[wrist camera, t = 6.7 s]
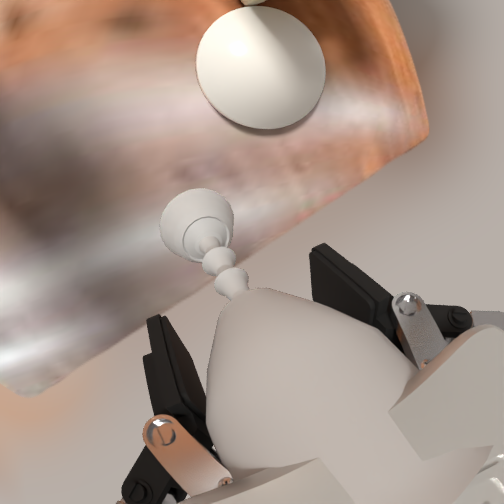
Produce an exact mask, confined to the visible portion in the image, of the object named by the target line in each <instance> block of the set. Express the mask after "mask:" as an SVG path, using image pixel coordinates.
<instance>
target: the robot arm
mask: <svg viewBox="0 0 504 504" xmlns="http://www.w3.org/2000/svg"><path fill="white" fill-rule="evenodd" d="M309 259H310V272H311V285H312V297H313V301H314V302H317V303H320V304H322V305H325V306H328V307H331V308H333V309H335V310H337V311H339V312H342V313H344V314H346V315H348V316H350V317H353V318H355V319H357V320H359V321H361V322H364V323H366V324H368V325H370V326H372V327H375V328H377V329H378V330H379V331H381V332H382V333H383V334H384V335H385V336H386V337H387V338H388V339H389V340H390V341H391V342H392V343H393V344H394V345H395V346H396V347H397V348H398V349H399V350H400V351H401V352H402V353H403V354H404V355H405V356H406V357H407V358H408V359H409V360H410V361H411V362H412V363H413V364H414V365H415V366H416V368H417V369H418V370H419V372H418V373H417V374H416V375H415V376H414V377H412V378H411V379H410V380H409V381H408V382H407V383H406V385H405V388H404V390H403V393H402V395H401V397H400V398H399V399H398V400H397V402H396V403H395V404H394V405H393V406H392V408H391V409H390V410H389V411H388V412H387V413H388V414H389V415H390V417H391V418H392V420H393V421H394V422H395V424H396V425H397V427H398V428H399V429H400V431H401V432H402V434H403V435H404V436H405V438H406V439H407V441H408V442H409V444H410V445H411V446H412V448H413V449H414V451H415V452H416V453H417V455H418V456H419V457H420V459H421V460H422V461H426V460H429V459H432V458H435V457H438V456H441V455H444V454H446V453H449V452H452V451H454V450H456V449H459V448H473V447H483V446H491V445H494V446H493V448H492V450H491V452H490V454H489V457H488V459H487V460H486V462H485V463H484V465H483V466H482V468H481V469H480V470H479V472H478V473H477V474H476V476H475V477H474V478H473V480H472V481H471V482H470V484H469V485H468V486H467V487H466V489H465V490H464V491H463V492H462V493H461V495H460V496H459V497H458V498H457V499H456V500H455V501H454V502H453V503H452V504H504V313H503V312H500V311H471V312H470V313H469V312H468V311H467V310H466V309H465V308H463V307H459V306H446V305H429V304H428V305H427V304H425V303H424V301H423V300H422V298H421V297H420V296H418V295H417V294H414V293H411V292H402V293H400V294H397V295H396V296H395V297H393V296H392V295H391V294H390V293H389V292H387V291H386V290H385V289H384V288H383V287H381V286H380V285H379V284H378V283H376V282H375V281H374V280H373V279H371V278H370V277H369V276H368V275H367V274H365V273H364V272H363V271H362V270H360V269H359V268H358V267H357V266H355V265H354V264H352V263H350V262H349V261H348V260H346V259H345V258H344V257H342V256H341V255H340V254H339V253H337V252H336V251H335V250H333V249H332V248H331V247H330V246H328V245H327V244H325V243H322V244H320V245H318V246H316V247H314V248H312V252H311V253H310V254H309ZM146 321H147V328H148V333H149V339H150V345H151V350H152V353H150V354H147V355H145V356H143V364H144V369H145V375H146V380H147V385H148V390H149V394H150V399H151V404H152V408H153V412H154V417H153V418H151V419H150V420H148V422H147V423H146V424H145V426H144V428H143V434H142V435H143V440H144V442H145V444H146V446H145V447H144V449H143V451H142V452H141V454H140V456H139V457H138V459H137V461H136V463H135V464H134V466H133V467H132V469H131V471H130V473H129V474H128V476H127V478H126V479H125V481H124V483H123V485H122V496H123V498H122V499H121V501H117V503H116V504H356V503H355V501H354V500H353V499H352V498H351V497H350V495H349V494H348V493H347V492H346V491H345V489H344V488H343V487H342V486H341V484H340V483H339V482H338V481H337V480H336V478H335V477H334V476H333V475H332V473H331V472H330V471H329V470H328V468H327V467H326V466H325V464H324V463H323V462H322V461H321V459H320V458H319V457H318V458H315V459H311V460H308V461H304V462H300V463H297V464H293V465H289V466H285V467H281V468H267V469H265V470H263V471H260V472H258V473H255V474H253V475H251V476H248V477H246V478H243V479H240V480H238V481H235V482H234V480H233V479H232V476H231V474H230V472H229V471H228V470H227V469H226V468H225V467H224V466H223V464H222V463H221V461H220V458H219V456H218V454H217V452H216V451H215V450H214V449H213V448H212V446H213V442H212V440H211V437H210V435H209V432H208V429H207V425H206V395H205V393H204V390H203V387H202V385H201V382H200V379H199V377H198V374H197V371H196V369H195V366H194V363H193V360H192V358H191V356H190V354H189V352H188V351H187V349H186V348H185V346H184V344H183V343H182V341H181V340H180V338H179V337H178V335H177V333H176V332H175V330H174V328H173V327H172V325H171V323H170V322H169V320H168V318H167V317H166V316H163V317H161V315H160V314H158V315H156V316H153V317H151V318H148V319H147V320H146ZM187 494H189V495H190V497H191V498H188V499H185V498H186V496H187ZM184 499H185V500H184Z"/></svg>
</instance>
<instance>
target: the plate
mask: <svg viewBox="0 0 504 504" xmlns="http://www.w3.org/2000/svg"><path fill="white" fill-rule="evenodd" d="M195 70H196V76H197V80H198V83H199V86H200V88H201V90H202V92H203V94H204V96H205V97H206V99H207V100H208V102H209V103H210V104H211V105H212V106H213V107H214V108H215V109H216V110H217V111H218V112H219V113H220V114H222V115H223V116H225V117H226V118H228V119H229V120H231V121H233V122H235V123H238V124H241V125H243V126H247V127H252V128H259V129H276V128H282V127H285V126H289V125H291V124H293V123H295V122H297V121H299V120H300V119H302V118H303V117H304V116H306V115H307V114H308V113H309V112H310V111H311V110H312V109H313V107H314V106H315V105H316V103H317V102H318V100H319V98H320V96H321V94H322V91H323V88H324V84H325V76H326V68H325V60H324V56H323V53H322V50H321V48H320V45H319V43H318V42H317V40H316V38H315V37H314V35H313V34H312V32H311V31H310V30H309V29H308V28H307V27H306V26H305V25H304V24H303V23H302V22H301V21H299V20H298V19H296V18H295V17H294V16H292V15H290V14H288V13H286V12H284V11H281V10H279V9H275V8H271V7H265V6H249V7H243V8H239V9H236V10H233V11H230V12H228V13H227V14H225V15H223V16H221V17H220V18H219V19H218V20H216V21H215V22H214V23H213V24H212V25H211V26H210V27H209V29H208V30H207V31H206V32H205V34H204V35H203V37H202V39H201V41H200V43H199V45H198V49H197V52H196V59H195Z"/></svg>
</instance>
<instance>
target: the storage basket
mask: <svg viewBox="0 0 504 504" xmlns="http://www.w3.org/2000/svg"><path fill="white" fill-rule="evenodd" d="M264 1H266V0H241V2H242V3H243V4H244V5H246V6H248V5H249V6H252V5H256V4H259V3H262V2H264Z"/></svg>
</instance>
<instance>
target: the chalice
mask: <svg viewBox="0 0 504 504" xmlns="http://www.w3.org/2000/svg"><path fill="white" fill-rule="evenodd" d="M233 225H234V214H233V211H232V209H231V206H230V204H229V203H228V201H227V200H226V199H225V198H224V196H222V195H220V194H219V193H217V192H215V191H214V190H209V189H204V188H199V189H190V190H188V191H185V192H183V193H181V194H179V195H177V196H176V197H175V198H174V199H173V200H172V201H170V202H169V203H168V205H167V206H166V208H165V210H164V211H163V213H162V216H161V221H160V234H161V238H162V240H163V242H164V244H165V246H166V247H167V248H168V249H169V250H171V251H172V252H173V253H174V254H176V255H179V256H181V257H183V258H185V259H187V260H189V261H191V262H197V263H202V267H203V269H204V271H205V272H206V273H207V274H209V275H211V276H217V278H216V280H215V283H214V285H215V289H216V292H218V293H219V294H220V295H223V296H226V297H227V298H228V299H229V300H230V302H228V303H227V304H226V306H225V307H224V308H223V310H222V311H221V313H220V316H219V318H218V322H217V326H216V331H215V336H214V340H213V346H212V350H211V355H210V360H209V365H208V369H207V393H206V425H207V429H208V432H209V435H210V437H211V440H212V442H213V444H214V447H215V449H216V452H217V454H218V456H219V458H220V461H221V463H222V464H223V466H224V467H225V468H226V469H227V470H228V471H229V472H230V474H231V476H232V479H233V480H234V482H235V481H238V480H240V479H243V478H246V477H248V476H251V475H253V474H255V473H258V472H260V471H263V470H265V469H267V468H281V467H285V466H289V465H293V464H297V463H300V462H304V461H308V460H311V459H315V458H318V457H319V458H320V459H321V461H322V462H323V463H324V464H325V466H326V467H327V468H328V470H329V471H330V472H331V473H332V475H333V476H334V477H335V478H336V480H337V481H338V482H339V483H340V484H341V486H342V487H343V488H344V489H345V491H346V492H347V493H348V494H349V495H350V497H351V498H352V499H353V500H354V501H355V503H356V504H452V503H453V502H454V501H455V500H456V499H457V498H458V497H459V496H460V495H461V493H462V492H463V491H464V490H465V489H466V487H467V486H468V485H469V484H470V482H471V481H472V480H473V478H474V477H475V476H476V474H477V473H478V472H479V470H480V469H481V468H482V466H483V465H484V463H485V462H486V460H487V459H488V457H489V454H490V452H491V450H492V448H493V446H494V445H491V446H483V447H473V448H459V449H456V450H454V451H452V452H449V453H446V454H444V455H441V456H438V457H435V458H432V459H429V460H426V461H422V460H421V459H420V457H419V456H418V455H417V453H416V452H415V451H414V449H413V448H412V446H411V445H410V444H409V442H408V441H407V439H406V438H405V436H404V435H403V434H402V432H401V431H400V429H399V428H398V427H397V425H396V424H395V422H394V421H393V420H392V418H391V417H390V415H389V414H388V413H387V412H388V411H389V410H390V409H391V408H392V406H393V405H394V404H395V403H396V402H397V400H398V399H399V398H400V397H401V395H402V393H403V390H404V388H405V385H406V383H407V382H408V381H409V380H410V379H411V378H412V377H414V376H415V375H416V374H417V373H418V372H419V370H418V369H417V368H416V366H415V365H414V364H413V363H412V362H411V361H410V360H409V359H408V358H407V357H406V356H405V355H404V354H403V353H402V352H401V351H400V350H399V349H398V348H397V347H396V346H395V345H394V344H393V343H392V342H391V341H390V340H389V339H388V338H387V337H386V336H385V335H384V334H383V333H382V332H381V331H379V330H378V329H377V328H375V327H372V326H370V325H368V324H366V323H364V322H361V321H359V320H357V319H355V318H353V317H350V316H348V315H346V314H344V313H342V312H339V311H337V310H335V309H333V308H331V307H328V306H325V305H322V304H320V303H317V302H314V301H310V300H306V299H303V298H300V297H297V296H293V295H290V294H287V293H283V292H280V291H277V290H273V289H270V288H257V289H253V290H249V287H248V285H247V283H248V274H247V272H246V271H244V270H243V269H241V268H235V267H234V265H235V262H236V256H235V253H234V252H233V251H232V250H231V249H229V248H228V247H229V245H230V243H231V240H232V237H233Z"/></svg>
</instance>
